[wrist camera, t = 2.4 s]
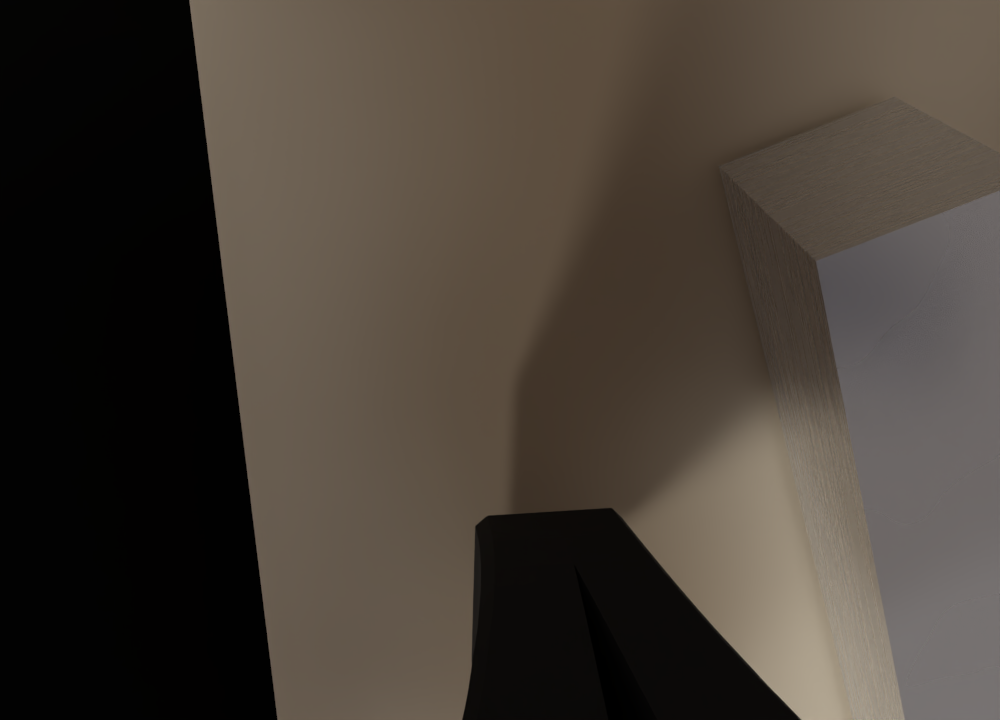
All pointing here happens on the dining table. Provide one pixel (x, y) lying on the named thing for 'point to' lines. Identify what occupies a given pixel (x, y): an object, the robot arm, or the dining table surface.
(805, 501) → the bar
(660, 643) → the robot arm
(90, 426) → the dining table surface
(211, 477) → the dining table surface
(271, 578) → the board
